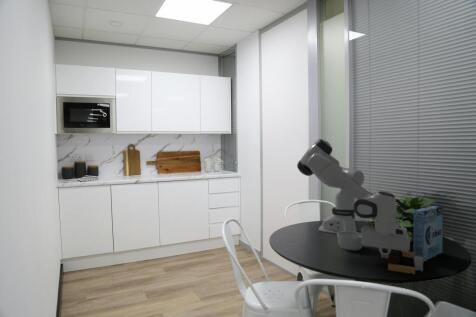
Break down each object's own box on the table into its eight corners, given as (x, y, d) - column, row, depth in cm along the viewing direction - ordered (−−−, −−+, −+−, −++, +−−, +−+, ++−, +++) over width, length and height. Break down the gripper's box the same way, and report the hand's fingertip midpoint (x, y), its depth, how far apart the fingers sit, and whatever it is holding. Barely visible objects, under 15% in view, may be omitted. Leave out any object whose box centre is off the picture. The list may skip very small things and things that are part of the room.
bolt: (390, 271, 141) (394, 260, 153) (401, 268, 138) (404, 256, 151) (383, 259, 142) (387, 248, 155) (394, 255, 139) (398, 244, 152)
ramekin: (366, 252, 161) (366, 238, 161) (338, 250, 164) (338, 237, 163) (361, 244, 174) (361, 231, 174) (335, 243, 176) (336, 230, 176)
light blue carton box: (423, 262, 147) (424, 212, 146) (412, 259, 151) (413, 210, 150) (442, 253, 158) (443, 207, 157) (431, 251, 162) (432, 205, 161)
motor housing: (388, 270, 138) (388, 254, 137) (390, 254, 157) (390, 240, 157) (423, 275, 132) (423, 259, 132) (421, 258, 151) (421, 244, 151)
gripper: (360, 226, 150) (359, 256, 150) (410, 232, 140) (409, 263, 141) (361, 223, 155) (361, 252, 156) (410, 228, 146) (409, 259, 146)
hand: (384, 257), depth 148 cm, fingers closed
